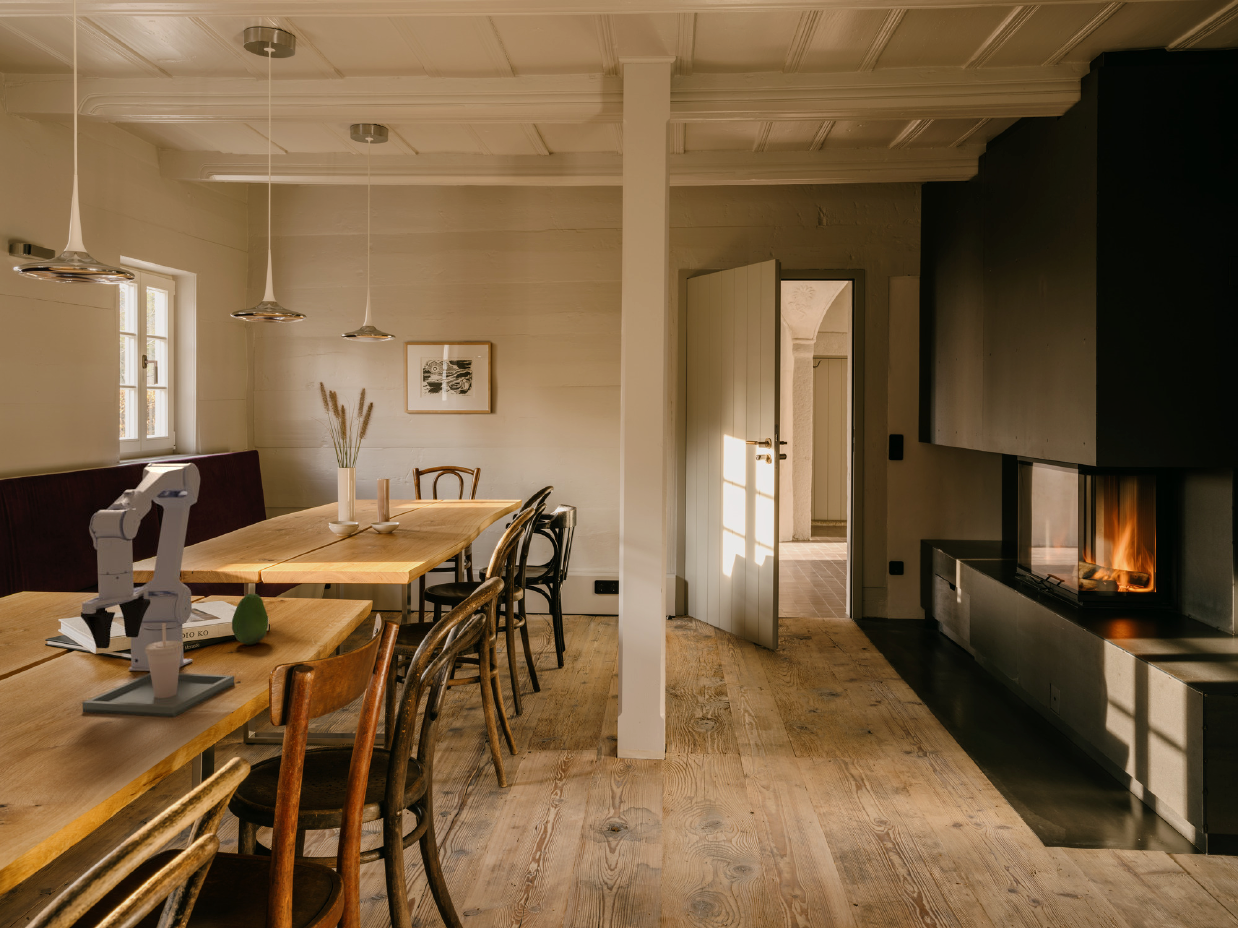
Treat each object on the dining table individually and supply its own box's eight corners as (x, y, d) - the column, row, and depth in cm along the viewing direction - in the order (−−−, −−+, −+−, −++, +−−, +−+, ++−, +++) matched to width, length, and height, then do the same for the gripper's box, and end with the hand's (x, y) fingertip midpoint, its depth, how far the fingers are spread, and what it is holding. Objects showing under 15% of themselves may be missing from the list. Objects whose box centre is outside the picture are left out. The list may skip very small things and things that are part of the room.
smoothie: (147, 702, 150) (145, 628, 150) (144, 693, 156) (142, 621, 155) (186, 696, 154) (184, 623, 153) (182, 686, 159) (180, 616, 158)
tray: (82, 711, 147) (82, 702, 147) (152, 680, 165) (152, 671, 165) (173, 716, 145) (173, 707, 145) (234, 684, 163) (234, 675, 163)
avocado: (275, 639, 196) (274, 590, 195) (257, 648, 188) (256, 597, 187) (243, 638, 196) (242, 590, 196) (224, 647, 189) (223, 597, 188)
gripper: (105, 580, 147) (108, 653, 148) (161, 565, 161) (162, 633, 162) (70, 578, 148) (73, 652, 149) (128, 564, 162) (130, 631, 163)
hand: (117, 642), depth 155 cm, fingers open, 7 cm apart
